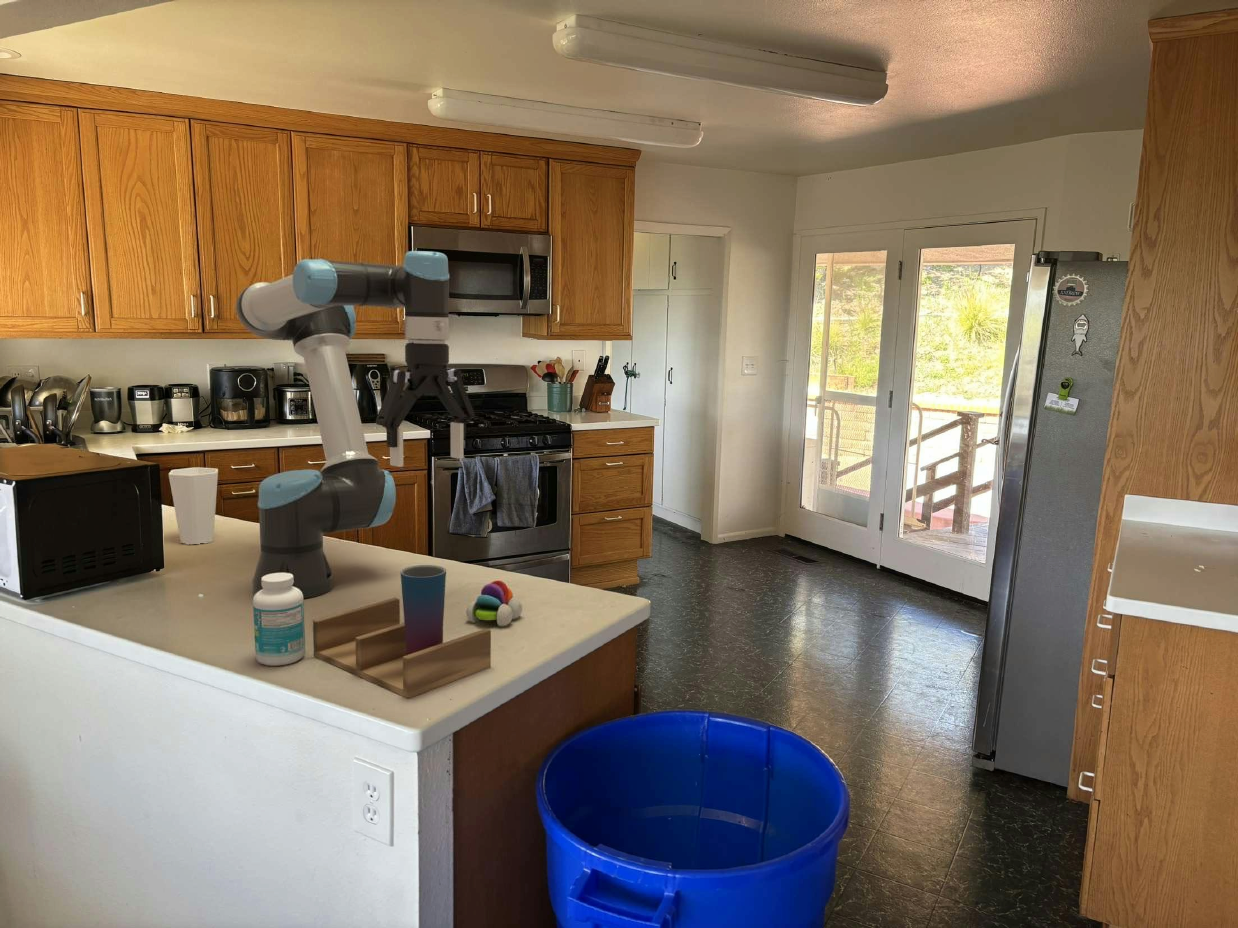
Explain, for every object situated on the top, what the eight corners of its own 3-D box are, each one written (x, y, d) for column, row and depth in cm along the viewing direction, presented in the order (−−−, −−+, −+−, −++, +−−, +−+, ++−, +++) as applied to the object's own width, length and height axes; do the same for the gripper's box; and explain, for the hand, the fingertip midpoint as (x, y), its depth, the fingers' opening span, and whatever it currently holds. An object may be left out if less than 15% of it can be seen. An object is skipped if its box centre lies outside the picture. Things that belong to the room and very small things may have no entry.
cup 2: (453, 658, 137) (453, 566, 135) (436, 674, 130) (435, 578, 128) (413, 654, 138) (412, 563, 136) (394, 670, 132) (392, 575, 129)
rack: (313, 656, 139) (312, 620, 138) (395, 630, 151) (395, 597, 150) (408, 698, 124) (408, 658, 123) (490, 666, 137) (490, 630, 136)
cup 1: (161, 544, 203) (157, 473, 201) (189, 535, 213) (186, 466, 210) (205, 548, 202) (201, 475, 199) (231, 537, 211) (228, 469, 209)
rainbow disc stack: (526, 615, 161) (527, 578, 160) (503, 632, 152) (503, 592, 151) (486, 609, 164) (486, 572, 163) (460, 625, 155) (460, 586, 154)
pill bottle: (264, 649, 141) (261, 569, 139) (310, 649, 142) (308, 569, 140) (248, 667, 134) (245, 583, 132) (297, 667, 134) (295, 583, 132)
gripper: (380, 342, 140) (382, 472, 143) (494, 343, 159) (493, 457, 162) (353, 341, 144) (355, 466, 148) (466, 341, 164) (466, 452, 167)
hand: (427, 461), depth 155 cm, fingers open, 13 cm apart
